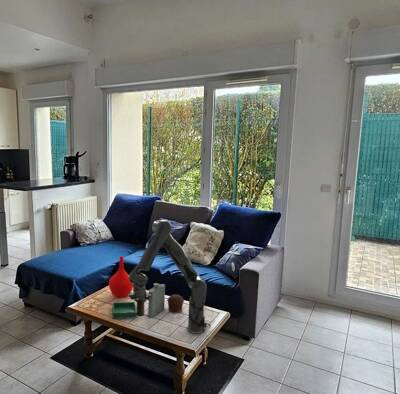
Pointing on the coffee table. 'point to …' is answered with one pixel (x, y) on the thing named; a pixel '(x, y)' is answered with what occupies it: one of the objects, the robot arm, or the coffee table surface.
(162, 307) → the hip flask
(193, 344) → the coffee table surface
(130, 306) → the tray
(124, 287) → the vase
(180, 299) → the muffin
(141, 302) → the pepper mill
